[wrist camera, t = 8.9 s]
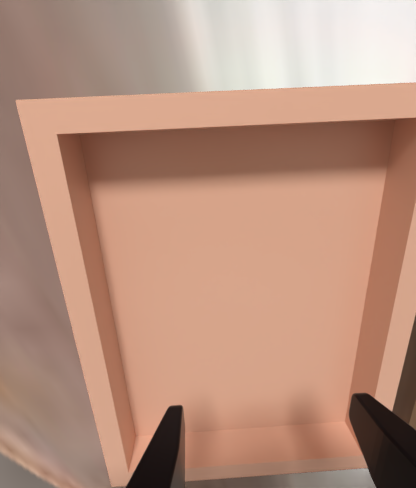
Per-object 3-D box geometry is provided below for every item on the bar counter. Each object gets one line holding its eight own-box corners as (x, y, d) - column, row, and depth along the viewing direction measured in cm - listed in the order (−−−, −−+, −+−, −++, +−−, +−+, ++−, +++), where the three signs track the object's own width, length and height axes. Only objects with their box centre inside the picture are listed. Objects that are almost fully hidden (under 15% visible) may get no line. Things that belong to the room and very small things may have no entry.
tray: (415, 91, 11) (471, 79, 9) (354, 423, 18) (378, 467, 15) (53, 107, 11) (15, 100, 9) (123, 439, 17) (111, 486, 15)
